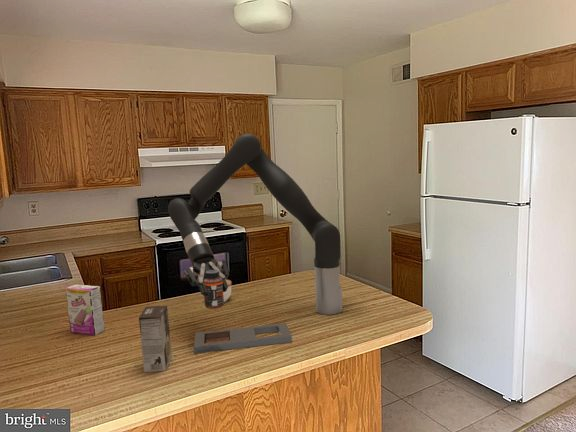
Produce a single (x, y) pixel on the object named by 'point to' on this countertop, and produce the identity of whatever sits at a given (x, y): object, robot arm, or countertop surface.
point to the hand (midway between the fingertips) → (216, 292)
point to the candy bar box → (85, 309)
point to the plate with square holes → (240, 338)
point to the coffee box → (155, 338)
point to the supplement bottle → (213, 290)
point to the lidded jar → (228, 292)
